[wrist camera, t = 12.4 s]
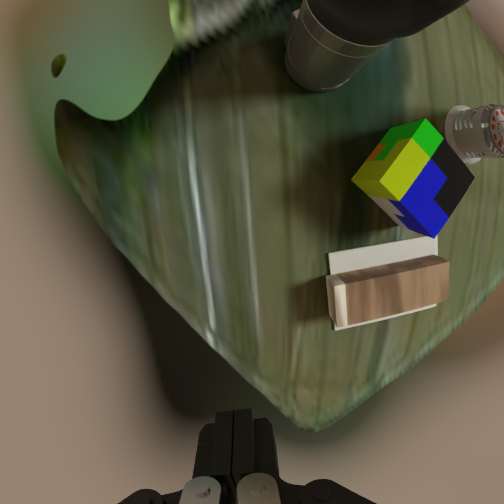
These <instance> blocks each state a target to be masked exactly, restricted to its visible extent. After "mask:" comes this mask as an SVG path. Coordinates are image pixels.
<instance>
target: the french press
mask: <svg viewBox="0 0 504 504" xmlns="http://www.w3.org/2000/svg"><path fill="white" fill-rule="evenodd" d="M489 106H492V107H493V109H491V108H490V107H489ZM489 106H487V105H485V106H481V107H476V108H472V109H471V108H469V107H466V106H463V105H459V106H455V107H453V108H452V109H451V110H450V111H449V112H448V114H447V117H446V120H445V136H446V140H447V143H448V144H449V145H450V146H451V148H452V149H453V150H454V151H455V153H456V154H457V155H458V156H459V158H460V159H461V160H462V161H463V163H468V164H473V163H476V162H478V161H479V160H480V159H481V158H503V157H504V155H503V156H501V155H502V154H504V106H502V105H494V104H490V105H489ZM486 107H487V108H488V109H489V110H486V109H485V108H486ZM478 108H479V109H478ZM473 109H474V110H473ZM476 109H477V111H476ZM483 123H489V127H486V128H484V125H483ZM490 142H492V144H493V148H492V151H491V150H490V148H491V144H490ZM495 146H496V148H497V151H496V153H495V154H494V151H495ZM499 151H500V152H501V153H500V154H499V155H498V156H496V155H497V154H498V153H499ZM499 156H500V157H499Z"/></svg>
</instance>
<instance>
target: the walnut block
mask: <svg viewBox="0 0 504 504" xmlns="http://www.w3.org/2000/svg"><path fill="white" fill-rule="evenodd" d="M326 284H327V295H328V306H329V315H330V317H331V318H332V320H333V322H334V323H335V325H336V327H337V328H338V327H343V326H348V325H352V324H357V323H361V322H366V321H370V320H374V319H379V318H383V317H387V316H391V315H395V314H399V313H403V312H407V311H411V310H414V309H418V308H422V307H425V306H429V305H433V304H436V303H440V302H443V301H447V300H448V290H449V261H447V260H445V259H443V258H441V257H439V256H437V255H434V254H433V255H428V256H423V257H419V258H414V259H409V260H404V261H399V262H394V263H389V264H384V265H379V266H374V267H369V268H364V269H359V270H354V271H348V272H343V273H338V274H332V275H327V276H326Z"/></svg>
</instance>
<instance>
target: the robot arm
mask: <svg viewBox="0 0 504 504" xmlns="http://www.w3.org/2000/svg"><path fill="white" fill-rule="evenodd" d="M468 1H469V0H303V2H302V5H301V8H300V9H299V10H296V11H294V12H293V14H292V17H291V20H290V24H289V27H288V30H287V34H286V37H285V41H284V44H285V46H286V53H285V66H286V69H287V71H288V73H289V75H290V76H291V78H292V79H293V80H294V81H295V82H296V83H297V84H299V85H300V86H302V87H303V88H305V89H308V90H311V91H315V92H329V91H333V90H335V89H337V88H339V87H340V86H342V85H343V84H344V83H345V82H347V81H348V80H349V78H351V77H352V76H353V75H354V74H355V73H356V72H357V71H358V70H359V69H361V68H362V67H363V66H364V65H365V64H366V63H367V62H368V61H369V60H371V59H372V58H373V57H374V56H375V55H376V54H377V53H379V52H380V51H381V50H382V49H383V48H384V47H385V46H386V45H388V44H389V43H390V42H391V41H392V40H393V39H395V38H400V37H406V36H410V35H413V34H416V33H418V32H419V31H421V30H423V29H424V28H426V27H428V26H429V25H431V24H432V23H434V22H436V21H437V20H439V19H441V18H443V17H444V16H446V15H448V14H449V13H451V12H453V11H454V10H456V9H458V8H459V7H461V6H462V5H464V4H465V3H466V2H468ZM198 442H199V443H198V446H197V453H196V459H195V465H194V471H193V477H192V479H191V480H190V481H188V482H187V483H186V484H185V486H184V488H183V489H182V490H180V491H178V492H174V493H170V494H165V495H160V494H159V493H158V492H157V491H155V490H152V489H141V490H138V491H136V492H135V493H133V494H131V495H130V496H128V497H127V498H125V499H124V500H123V501H121V502H120V503H118V504H376V503H374V502H372V501H370V500H368V499H366V498H364V497H362V496H360V495H358V494H356V493H354V492H352V491H350V490H349V489H347V488H345V487H343V486H341V485H339V484H337V483H336V482H334V481H332V480H328V479H318V480H314V481H311V482H309V483H308V484H306V485H305V486H303V485H293V484H289V483H287V482H285V481H283V480H282V479H281V478H280V477H279V468H278V458H277V449H276V443H275V438H274V433H273V427H272V424H271V423H270V422H269V421H268V419H267V418H260V419H255V415H254V411H253V408H245V409H236V410H228V411H217V412H216V419H215V423H210V424H206V425H205V426H204V427H203V428H202V430H201V431H200V433H199V440H198Z"/></svg>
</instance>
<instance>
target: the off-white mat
mask: <svg viewBox="0 0 504 504" xmlns="http://www.w3.org/2000/svg"><path fill="white" fill-rule="evenodd" d="M433 254H434V255H437V256H438V240H437V236H436V237H435V238H434V239H433V238H431V237H428V236H423V237H417V238H411V239H406V240H400V241H394V242H388V243H383V244H377V245H371V246H365V247H360V248H354V249H348V250H342V251H336V252H330V253H328V257H329V267H330V275H332V274H338V273H343V272H348V271H354V270H359V269H364V268H369V267H374V266H379V265H384V264H389V263H394V262H399V261H404V260H409V259H414V258H419V257H423V256H428V255H433ZM435 306H436V304H433V305H429V306H425V307H422V308H418V309H414V310H411V311H407V312H403V313H399V314H395V315H391V316H387V317H383V318H379V319H374V320H370V321H366V322H361V323H357V324H352V325H348V326H343V327H338V328H337V327H336V325H335V323H334V329H335V330H340V329H345V328H350V327H354V326H359V325H363V324H368V323H372V322H376V321H381V320H385V319H389V318H393V317H397V316H401V315H405V314H409V313H413V312H416V311H420V310H424V309H428V308H431V307H435Z"/></svg>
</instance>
